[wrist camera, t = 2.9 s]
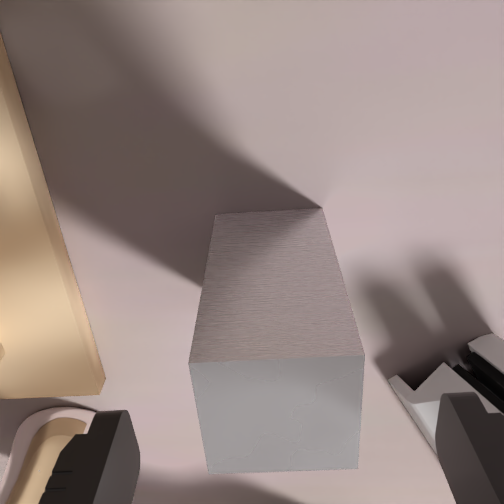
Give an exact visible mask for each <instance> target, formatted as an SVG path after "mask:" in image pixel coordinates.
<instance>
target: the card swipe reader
mask: <svg viewBox="0 0 504 504" xmlns="http://www.w3.org/2000/svg"><path fill="white" fill-rule="evenodd" d="M468 346H469V348H470V350H471V352H472V353H471V354H470V355H469V356H467V359H468V361H469V363H470V365H471V367H472V369H473V370H474V372H475V374H476V376H477V378H478V380H477V379H475V378H474V377H473V376H472V375H471V374H470V373H468V372H467V371H466V370H465V369H464V368H462V367H461V366H460V365H459V364H457V365H456V366H455V367H453V368H452V369H451V368H450V367H449V366H448V365H446V364H445V363H444V362H443V363H442V364H441V365H440V366H439V367H438V368H437V369H436V370H435V371H434V372H433V373H432V374H431V375H430V376H429V377H428V378H427V379H426V380H425V381H424V382H423V383H422V384H421V385H420V386H419V387H418V388H417V389H416V390H415V391H413V390H412V389H411V388H410V387H409V386H408V385H407V384H406V383H405V382H404V381H403V380H402V379H401V378H400V377H399V376H398V375H395V376H393V377H391V378H390V379H388V382H389V383H390V385H391V386H392V388H393V389H394V391H395V392H396V394H397V395H398V397H399V398H400V400H401V401H402V403H403V405H404V406H405V408H406V409H407V411H408V412H409V414H410V415H411V417H412V418H413V420H414V421H415V423H416V424H417V426H418V427H419V429H420V430H421V432H422V433H423V435H424V436H425V438H426V439H427V441H428V442H429V444H430V445H431V447H432V448H433V450H434V451H435V453H436V455H437V450H436V444H435V431H436V425H437V418H438V411H439V405H440V398H441V395H442V394H443V393H457V392H475V393H476V394H477V395H478V396H479V398H480V400H481V402H482V403H483V405H484V407H485V409H486V410H487V412H488V413H502V414H503V415H504V340H502V339H501V338H499V337H498V336H496V335H495V334H494V333H492V334H488V335H483V336H480V337H478V338H477V339H475V340H473V341H471V342H469V343H468ZM437 456H438V455H437Z"/></svg>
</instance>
